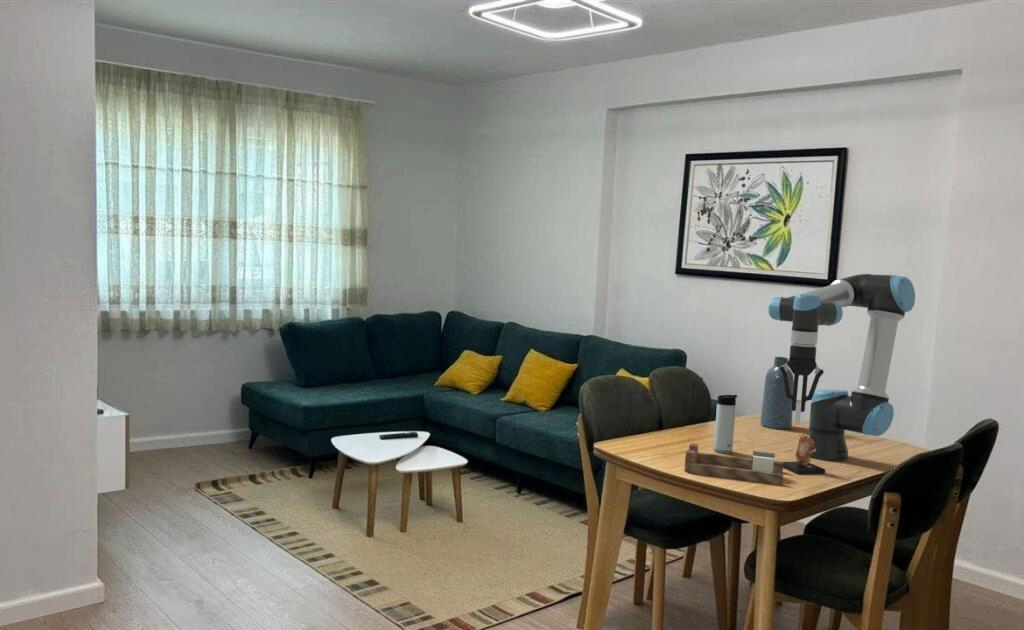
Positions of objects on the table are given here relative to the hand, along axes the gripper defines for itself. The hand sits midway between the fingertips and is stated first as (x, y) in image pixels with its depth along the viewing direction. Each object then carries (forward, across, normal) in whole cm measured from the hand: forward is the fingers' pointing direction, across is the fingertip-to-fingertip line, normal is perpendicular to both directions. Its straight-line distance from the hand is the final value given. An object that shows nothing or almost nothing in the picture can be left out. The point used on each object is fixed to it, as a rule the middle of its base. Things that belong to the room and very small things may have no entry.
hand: (797, 421), depth 258 cm
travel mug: (+18, +22, -28) cm, 40 cm away
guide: (+18, +17, 0) cm, 25 cm away
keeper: (+18, +9, 0) cm, 20 cm away
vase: (+18, +6, -87) cm, 89 cm away
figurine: (+18, -3, -15) cm, 24 cm away
